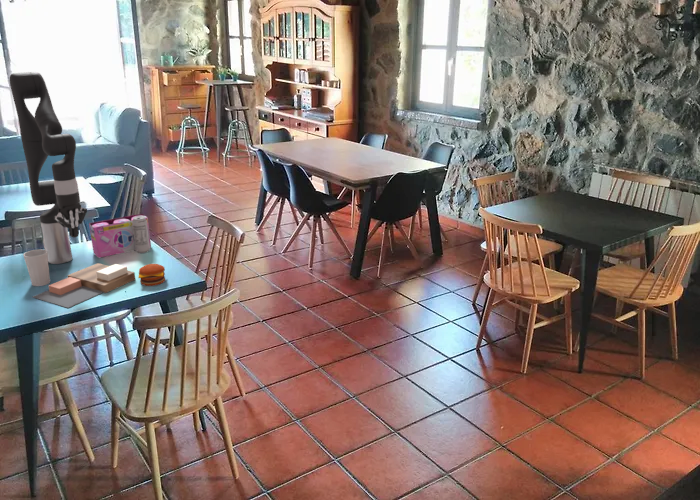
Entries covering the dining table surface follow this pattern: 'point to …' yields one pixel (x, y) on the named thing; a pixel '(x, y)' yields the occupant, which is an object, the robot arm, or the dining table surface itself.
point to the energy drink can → (141, 234)
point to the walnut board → (91, 280)
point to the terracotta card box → (65, 285)
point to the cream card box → (111, 272)
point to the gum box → (113, 236)
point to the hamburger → (152, 274)
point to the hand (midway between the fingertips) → (74, 236)
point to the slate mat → (69, 296)
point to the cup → (37, 266)
